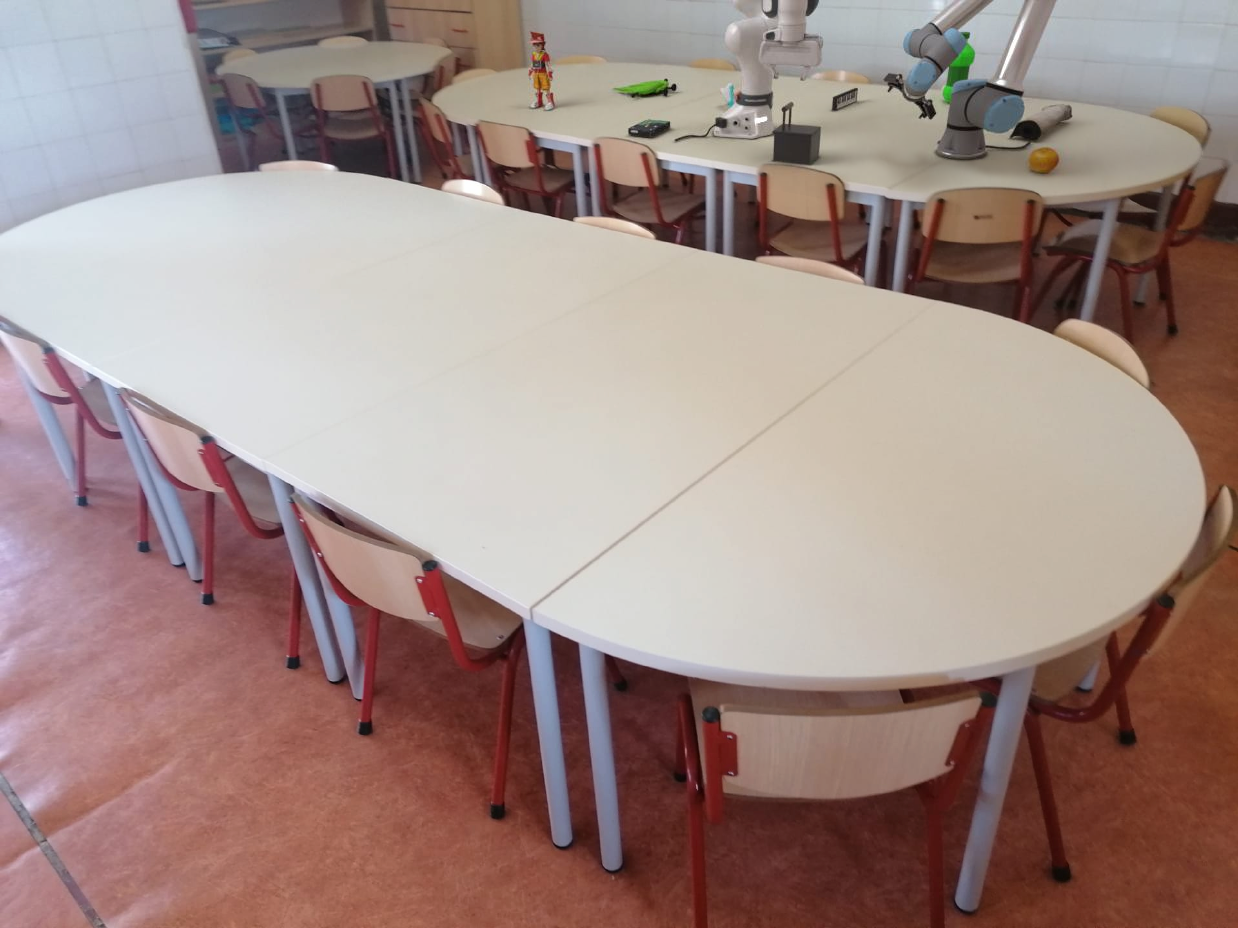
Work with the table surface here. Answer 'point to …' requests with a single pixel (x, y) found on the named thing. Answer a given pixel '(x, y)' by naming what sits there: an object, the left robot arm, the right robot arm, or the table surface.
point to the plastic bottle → (959, 68)
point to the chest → (796, 148)
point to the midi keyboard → (844, 98)
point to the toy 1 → (541, 71)
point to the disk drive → (649, 128)
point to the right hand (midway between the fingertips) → (906, 102)
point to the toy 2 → (648, 88)
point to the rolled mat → (1042, 122)
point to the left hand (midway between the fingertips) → (789, 79)
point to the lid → (794, 129)
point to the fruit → (1043, 160)
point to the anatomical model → (729, 94)
